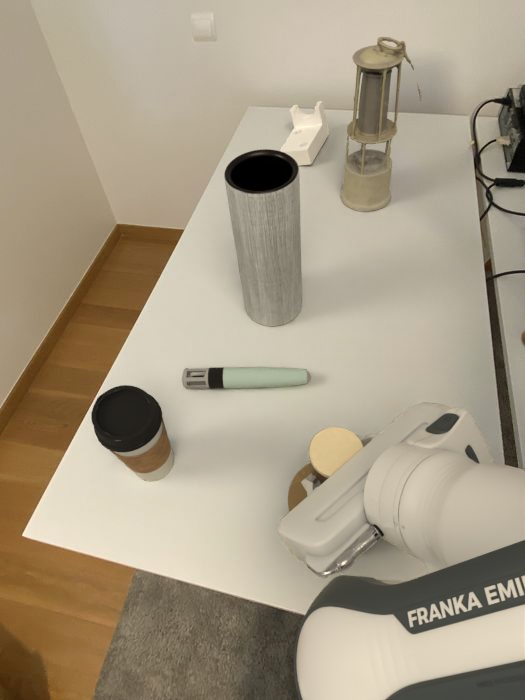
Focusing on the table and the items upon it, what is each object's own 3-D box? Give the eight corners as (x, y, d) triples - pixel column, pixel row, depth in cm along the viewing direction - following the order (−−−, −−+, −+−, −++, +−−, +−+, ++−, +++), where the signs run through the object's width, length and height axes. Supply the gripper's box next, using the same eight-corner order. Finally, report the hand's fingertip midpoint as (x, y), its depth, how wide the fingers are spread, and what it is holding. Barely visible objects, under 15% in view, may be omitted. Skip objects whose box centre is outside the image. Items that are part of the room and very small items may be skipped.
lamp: (338, 182, 107) (346, 27, 83) (400, 178, 106) (426, 20, 82) (342, 213, 101) (352, 55, 77) (407, 209, 100) (438, 49, 76)
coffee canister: (362, 468, 59) (369, 435, 52) (351, 513, 56) (357, 484, 49) (316, 454, 60) (317, 420, 53) (303, 497, 57) (302, 467, 50)
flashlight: (310, 359, 78) (184, 361, 80) (310, 371, 74) (178, 374, 76) (310, 377, 80) (187, 379, 81) (311, 391, 76) (181, 392, 77)
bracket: (302, 136, 120) (293, 105, 115) (329, 132, 117) (322, 100, 111) (282, 166, 113) (272, 135, 108) (311, 164, 110) (302, 132, 105)
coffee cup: (149, 426, 75) (118, 371, 63) (194, 451, 72) (171, 398, 60) (113, 472, 71) (72, 423, 59) (159, 501, 68) (126, 455, 56)
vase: (289, 277, 91) (282, 141, 70) (311, 316, 86) (311, 180, 64) (237, 294, 90) (214, 160, 68) (256, 334, 84) (237, 201, 62)
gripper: (347, 614, 39) (273, 549, 52) (505, 453, 46) (406, 430, 59) (308, 553, 38) (242, 502, 50) (477, 397, 45) (382, 386, 57)
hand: (331, 463), depth 55 cm, fingers closed on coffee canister, 5 cm apart
